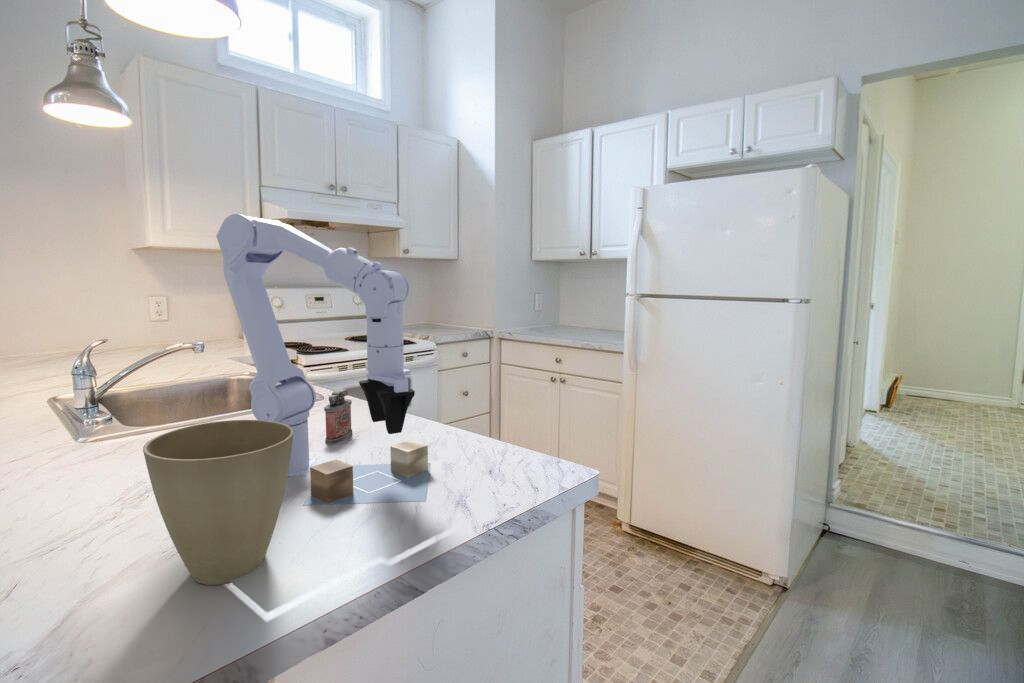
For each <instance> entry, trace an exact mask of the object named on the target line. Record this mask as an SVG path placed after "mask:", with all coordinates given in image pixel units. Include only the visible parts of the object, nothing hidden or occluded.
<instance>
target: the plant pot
mask: <svg viewBox="0 0 1024 683" xmlns="http://www.w3.org/2000/svg"><path fill="white" fill-rule="evenodd" d="M292 441H293V429H292V428H291V427H290V426H288V425H286V424H283V423H279V422H274V421H265V420H257V419H231V420H221V421H220V420H219V421H212V422H205V423H199V424H195V425H190V426H189V425H188V426H185V427H180V428H177V429H174V430H171V431H168V432H166V433H165V432H164V433H163V434H159V435H158V436H156V437H153V438H151V439H150V440H148V441H147V442H146V443H145V444H144V445H143V447H142V452H143V456H144V460H145V464H146V469H147V473H148V476H149V480H150V484H151V487H152V491H153V494H154V497H155V501H156V504H157V507H158V509H159V512H160V515H161V518H162V521H163V522H164V524H165V527H166V530H167V532H168V535H169V537H170V539H171V540H172V543H173V546H174V548H175V549H176V551H177V554H178V555H179V557H180V559H181V560H182V562H183V564H184V566H185V567H186V570H187V572H188V573H189V575H190V576H191V577H192V579H193V580H194V581H195V582H196V583H198V584H201V585H207V586H216V585H217V586H219V585H224V584H229V583H232V581H231V580H232V579H236V578H238V577H239V578H240V577H241V576H244V575H246V574H248V573H250V572H252V571H254V570H255V569H256V568H258V567H259V566H260V565H262V563H263V562H264V559H265V557H266V554H267V551H268V549H269V546H270V543H271V540H272V538H273V535H274V531H275V528H276V524H277V521H278V518H279V513H280V510H281V506H282V503H283V499H284V494H285V489H286V485H287V481H288V480H287V479H288V477H289V476H288V470H289V464H290V456H291V449H292Z"/></svg>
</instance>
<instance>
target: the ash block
mask: <svg viewBox="0 0 1024 683" xmlns="http://www.w3.org/2000/svg"><path fill="white" fill-rule="evenodd" d="M428 448H429V445H427V444H425V443H422V442H418V441H414V440H411V439H410V440H407V441H403V442H400V443H396V444H393V445H391V446H390V448H389V449H390V464H391V471H392V472H394V473H397V474H399V475H402V476H405V477H407V478H409V477H411V476H414V475H417V474H419V473H422V472H425V471H427V470H428V463H429V450H428Z"/></svg>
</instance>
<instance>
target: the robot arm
mask: <svg viewBox="0 0 1024 683" xmlns="http://www.w3.org/2000/svg"><path fill="white" fill-rule="evenodd" d="M216 239H217V243H218V245H219V248H220V250H221V254H222V257H223V260H222V261H223V262H222V263H223V275H224V280H225V282H226V284H227V288H228V291H229V294H230V296H231V300H232V302H233V306H234V308H235V311H236V314H237V317H238V320H239V322H240V325H241V328H242V331H243V334H244V338H245V340H246V343H247V345H248V348H249V351H250V355H251V358H252V360H253V363H254V366H255V370H256V374H255V376H254V377H253V379H252V380H251V381H250V383H249V386H248V389H249V392H250V395H251V397H250V398H251V401H250V402H251V403H250V408H251V412H252V414H253V416H254V418H255V420H265V421H274V422H279V423H283V424H286V425H288V426H290V427H291V428H292V429H293V441H292V449H291V456H290V464H289V470H288V476H287V477H289V476H292V477H293V476H304V475H306V474H307V472H309V471H310V467H312V466H314V463H315V462H316V461H317V459H316V458H310V448H309V447H310V446H309V445H310V443H309V422H308V421H309V420H308V418H309V417H310V411H311V410H312V409H313V407H314V406H315V404H316V400H317V397H316V396H317V393H316V391H315V388H314V386H313V385H312V384H311V383H310V382H309V380H308V379H307V378H306V376H305V371H304V370H303V369H301V368H300V367H299V366H297V365H295V364H294V363H292V362H291V359H290V357H289V353H288V351H287V348H286V345H285V341H284V339H283V338H284V337H283V336H282V333H281V329H280V327H279V324H278V321H277V318H276V315H275V313H274V310H273V306H272V304H271V301H270V298H269V295H268V292H267V289H266V286H265V283H264V280H263V276H264V275H265V273H266V271H267V270H268V269H269V268H271V266H272V265H273V264H274V263H275V262H276V261H277V260H278V259H279V258H280V257H281V256H282V255H283V254H284V253H285V252H288V253H291V254H292V255H294V256H297V257H299V258H301V259H303V260H306V261H308V262H310V263H311V264H314V265H316V266H318V267H320V268H322V269H323V272H324V275H325V277H326V278H327V279H328V280H330V281H332V282H333V283H335V284H336V285H338V286H341V287H343V288H344V289H346V290H348V291H350V292H352V293H353V294H356V295H358V296H359V298H360V300H361V301H362V303H363V304H364V306H365V315H366V357H367V358H366V359H367V360H366V361H367V362H366V363H367V364H366V365H365V376H366V378H367V379H364V380H359V381H358V384H359V386H360V387H361V389H362V391H363V394H364V397H365V399H366V403H367V406H368V410H369V415H370V419H371V421H372V423H376V422H385V428H386V431H387V434H389V435H394V434H400V433H402V431H403V427H404V424H405V419H406V414H407V411H408V408H409V406H410V405H411V404H410V403H411V402H412V400H413V398H414V397H415V394H416V393H415V392H416V391H415V390H414V389H412V388H409V379H408V378H407V376H409V375H411V370H410V369H408V368H405V367H404V364H405V363H404V301H406V299H407V297H408V296H409V293H410V292H409V291H410V287H409V286H410V285H409V283H408V279H407V278H406V277H405V275H403V274H402V273H401V272H400V271H399V270H398V269H386V270H384V268H383V264H382V263H381V262H380V261H371V260H370V259H367V258H365V257H363V256H361V255H359V250H358V249H355V248H354V247H347V248H345V247H339V248H336V249H334V250H333V249H332V248H329V247H328V246H326V245H324V244H323V243H322V242H319V241H318V240H316V239H314V238H313V237H311V236H309V235H307V234H305V233H304V232H302V231H300V230H299V229H296V228H295V227H293V226H292V225H290V224H287V223H283V222H282V221H280V220H278V219H273V218H272V219H271V218H270V219H266V218H261V217H253V216H248V215H246V216H245V215H244V214H242V213H241V214H239V213H232V214H230V215H228V216H227V217H226V218H225V219H224V220H223V222H221V225H220V228H219V229H218V231H217V234H216ZM278 383H279V384H278Z"/></svg>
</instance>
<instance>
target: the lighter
mask: <svg viewBox="0 0 1024 683" xmlns="http://www.w3.org/2000/svg"><path fill="white" fill-rule="evenodd" d="M348 395H349V394H348V390H347V389H346V388H345V389H340V390H339V391H333V392H331V395H328V402H329V404H327V405H325V406H324V407H323V410H324V413H325V438H324V439H325V441H324V442H325V444H327V445H333V444H338V443H341V442H343V441H345V440H346V439H348V438H350V437H351V436H352V435H353V429H352V410H351V409H352V407H351V405H352V403H353V402H352V399H348V398H345V397H347V396H348Z"/></svg>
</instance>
